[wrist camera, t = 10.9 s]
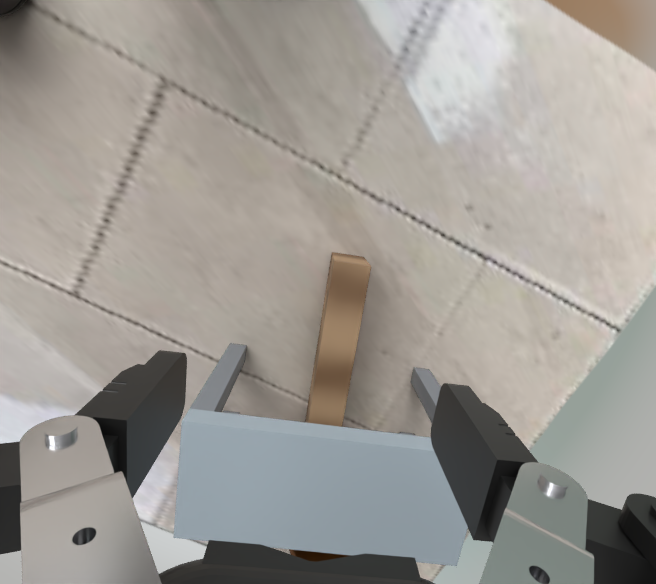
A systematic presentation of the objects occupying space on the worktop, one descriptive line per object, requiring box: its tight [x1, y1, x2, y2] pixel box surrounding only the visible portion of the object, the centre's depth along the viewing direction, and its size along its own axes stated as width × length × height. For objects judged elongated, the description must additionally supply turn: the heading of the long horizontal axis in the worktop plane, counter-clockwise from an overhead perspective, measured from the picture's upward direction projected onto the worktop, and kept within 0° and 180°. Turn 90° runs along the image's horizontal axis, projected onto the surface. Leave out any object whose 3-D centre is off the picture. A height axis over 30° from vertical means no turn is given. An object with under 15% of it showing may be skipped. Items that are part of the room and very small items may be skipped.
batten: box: [305, 252, 371, 427], centre depth 35 cm, size 19×3×6 cm, turn 171°
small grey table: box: [174, 343, 468, 566], centre depth 32 cm, size 9×20×14 cm, turn 81°
